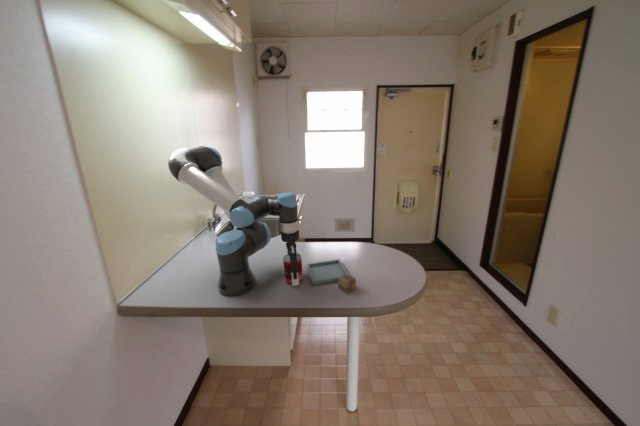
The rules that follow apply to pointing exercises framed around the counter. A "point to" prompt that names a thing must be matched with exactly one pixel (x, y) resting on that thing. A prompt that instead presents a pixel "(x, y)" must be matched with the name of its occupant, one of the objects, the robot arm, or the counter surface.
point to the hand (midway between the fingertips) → (293, 277)
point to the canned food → (288, 268)
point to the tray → (325, 271)
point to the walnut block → (347, 283)
